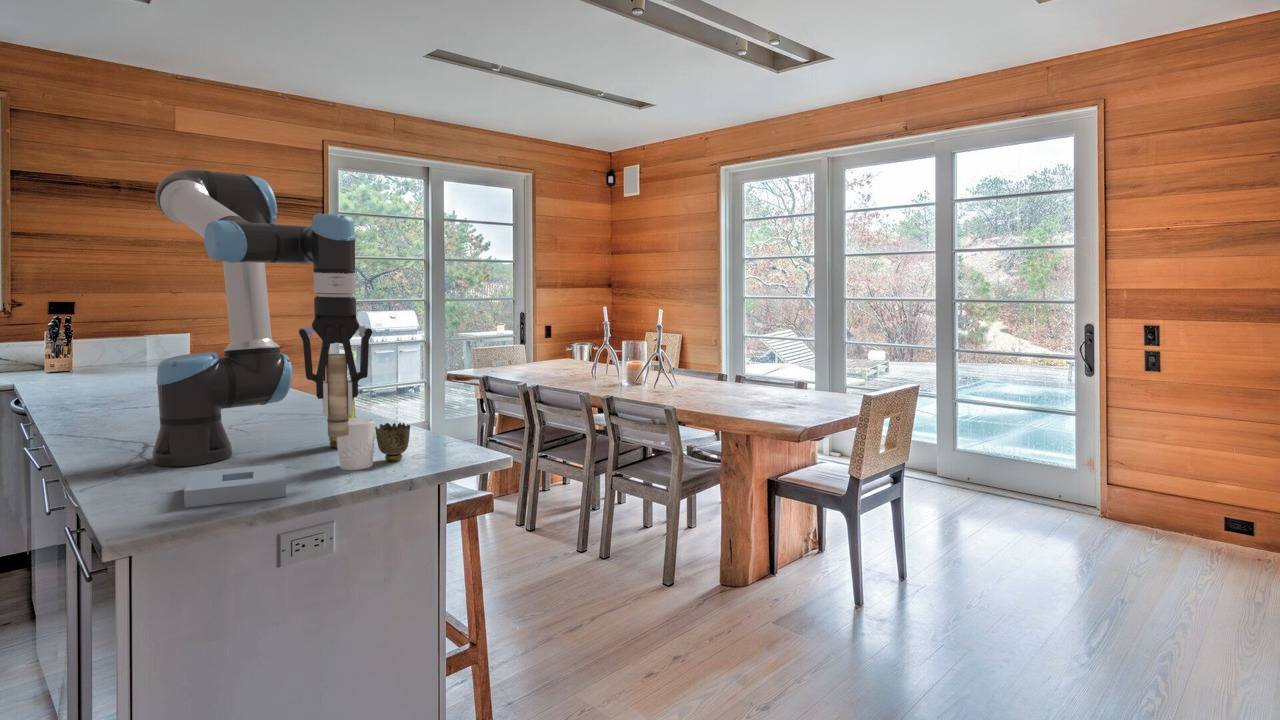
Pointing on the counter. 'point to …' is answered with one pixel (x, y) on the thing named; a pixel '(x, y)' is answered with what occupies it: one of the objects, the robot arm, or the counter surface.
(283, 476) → the block
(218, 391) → the robot arm
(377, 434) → the cup
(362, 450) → the white cup
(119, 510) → the counter surface
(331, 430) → the dowel
